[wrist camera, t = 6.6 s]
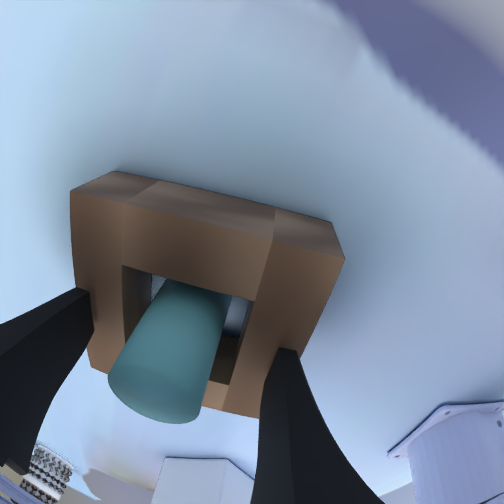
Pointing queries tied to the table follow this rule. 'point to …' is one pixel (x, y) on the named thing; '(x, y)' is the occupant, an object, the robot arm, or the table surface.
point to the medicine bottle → (202, 482)
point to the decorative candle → (46, 476)
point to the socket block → (202, 271)
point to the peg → (171, 353)
